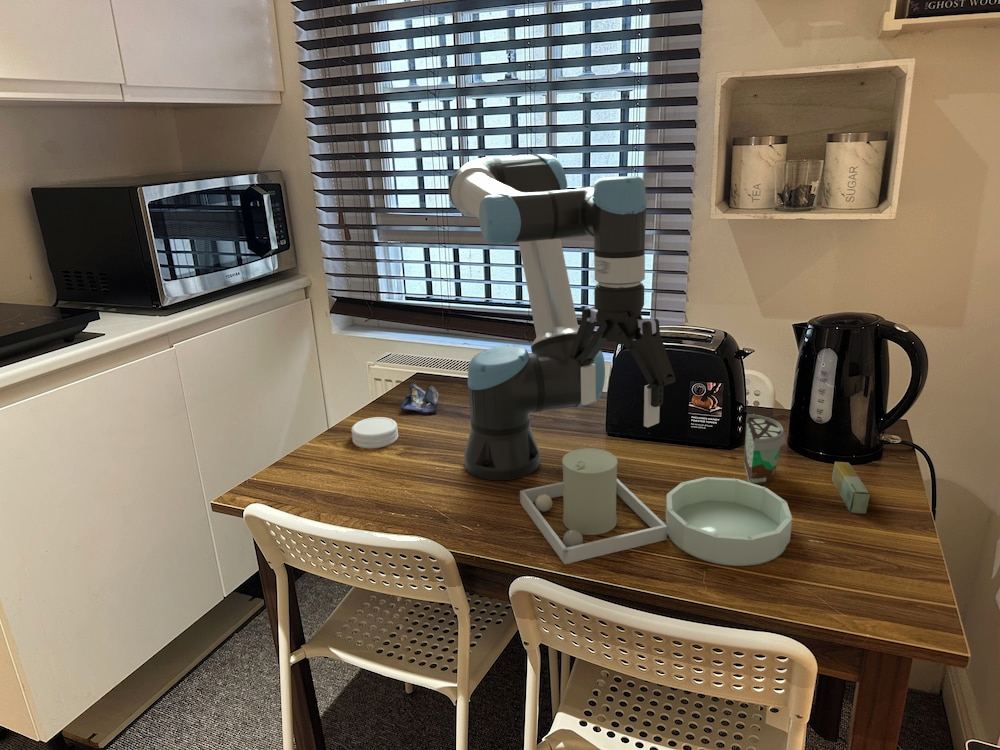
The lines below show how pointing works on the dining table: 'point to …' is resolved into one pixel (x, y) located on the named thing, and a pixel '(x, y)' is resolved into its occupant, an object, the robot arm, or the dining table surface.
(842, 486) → the medication box
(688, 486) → the bowl
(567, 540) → the pebble
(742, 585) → the dining table surface
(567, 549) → the parts tray
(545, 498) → the pebble
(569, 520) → the can
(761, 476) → the food container
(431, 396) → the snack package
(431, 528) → the dining table surface
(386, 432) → the round white tin
